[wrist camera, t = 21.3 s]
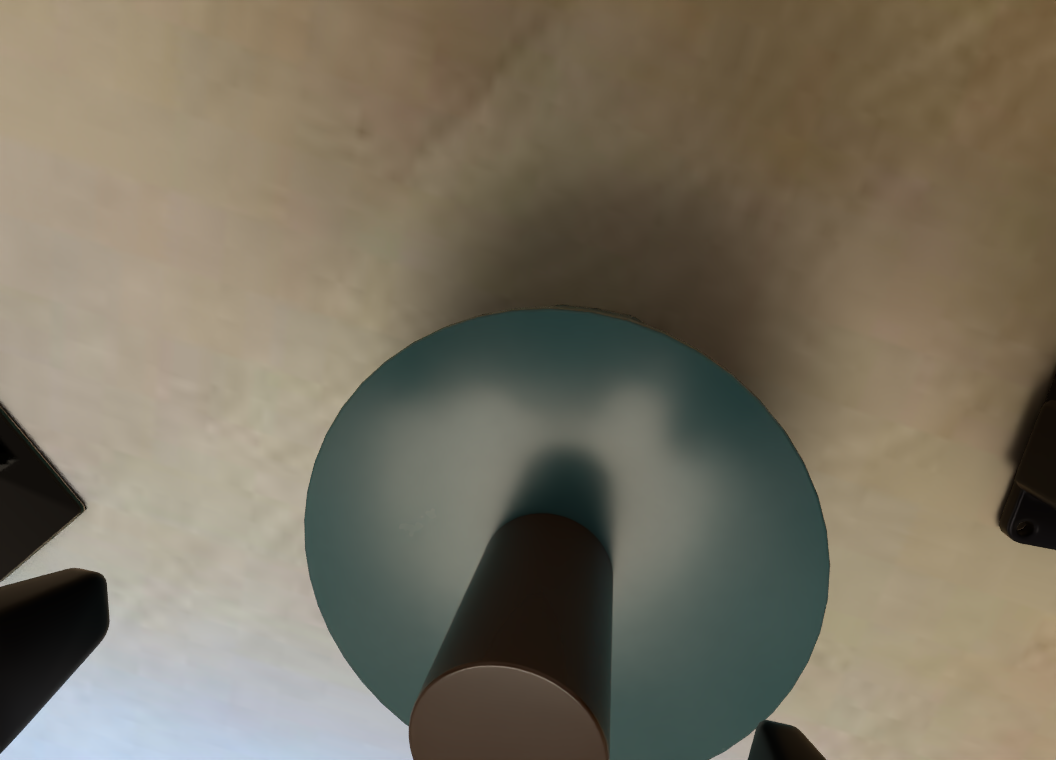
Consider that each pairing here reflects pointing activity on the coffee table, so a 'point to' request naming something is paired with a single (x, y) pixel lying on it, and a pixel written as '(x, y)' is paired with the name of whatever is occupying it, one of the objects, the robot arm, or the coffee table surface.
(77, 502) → the build plate
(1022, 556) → the coffee table surface
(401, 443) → the tin lid
